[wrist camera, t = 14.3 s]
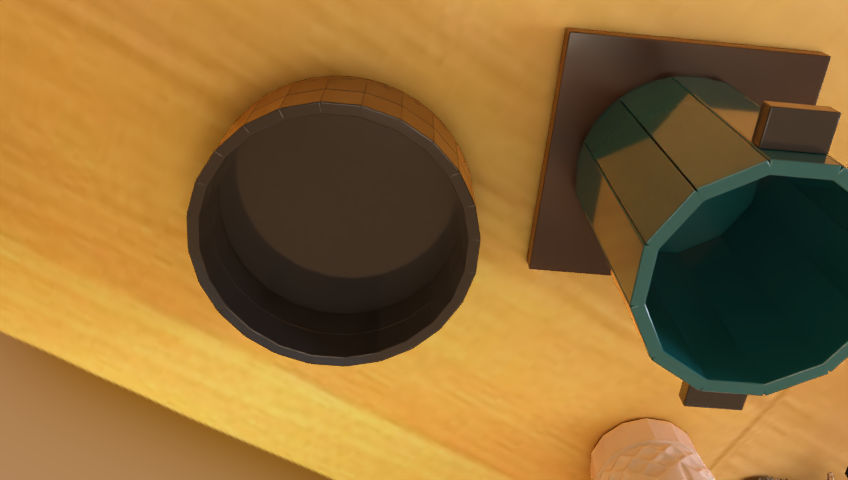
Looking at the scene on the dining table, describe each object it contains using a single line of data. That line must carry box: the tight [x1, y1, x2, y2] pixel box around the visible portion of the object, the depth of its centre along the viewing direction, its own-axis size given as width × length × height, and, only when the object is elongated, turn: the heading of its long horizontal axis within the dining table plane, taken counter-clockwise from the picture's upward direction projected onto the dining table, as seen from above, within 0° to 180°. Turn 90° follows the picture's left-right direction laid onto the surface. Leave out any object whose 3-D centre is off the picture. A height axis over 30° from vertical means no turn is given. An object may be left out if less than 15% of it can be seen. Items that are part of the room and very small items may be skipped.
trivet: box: [527, 28, 831, 275], centre depth 41 cm, size 13×13×1 cm
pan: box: [187, 76, 480, 366], centre depth 41 cm, size 14×14×5 cm
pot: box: [575, 76, 848, 410], centre depth 35 cm, size 13×10×12 cm
